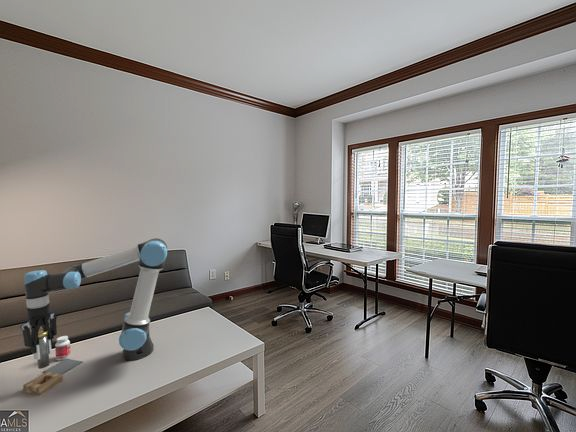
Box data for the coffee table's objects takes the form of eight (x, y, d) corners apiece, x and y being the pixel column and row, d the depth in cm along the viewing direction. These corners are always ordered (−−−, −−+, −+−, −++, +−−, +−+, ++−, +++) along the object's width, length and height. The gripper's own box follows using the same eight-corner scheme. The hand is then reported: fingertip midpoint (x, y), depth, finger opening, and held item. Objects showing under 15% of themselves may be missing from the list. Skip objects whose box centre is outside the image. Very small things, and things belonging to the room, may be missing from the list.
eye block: (62, 380, 128) (62, 374, 128) (39, 395, 119) (39, 388, 119) (47, 377, 130) (47, 371, 130) (23, 391, 121) (23, 385, 121)
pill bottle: (70, 358, 146) (68, 338, 146) (55, 362, 143) (53, 341, 142) (71, 353, 151) (70, 333, 151) (57, 356, 148) (55, 337, 147)
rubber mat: (82, 362, 143) (82, 361, 142) (60, 375, 132) (60, 374, 132) (66, 359, 145) (66, 358, 145) (43, 372, 135) (43, 371, 135)
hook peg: (45, 362, 127) (42, 329, 126) (53, 363, 126) (50, 330, 125) (34, 368, 123) (31, 334, 122) (42, 369, 121) (38, 335, 120)
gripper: (52, 298, 132) (56, 345, 133) (8, 312, 115) (14, 366, 117) (64, 299, 130) (68, 346, 131) (21, 314, 113) (27, 368, 115)
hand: (43, 355), depth 124 cm, fingers closed on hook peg, 4 cm apart
